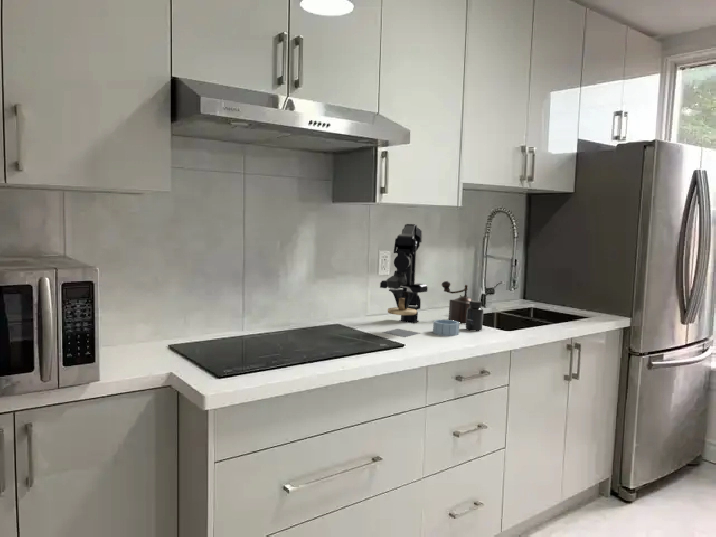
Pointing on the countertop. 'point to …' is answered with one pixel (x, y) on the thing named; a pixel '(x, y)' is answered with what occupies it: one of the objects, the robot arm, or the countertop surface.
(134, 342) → the countertop surface
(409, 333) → the mat
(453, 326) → the bowl
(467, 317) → the supplement bottle
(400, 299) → the lid
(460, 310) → the manual coffee grinder
